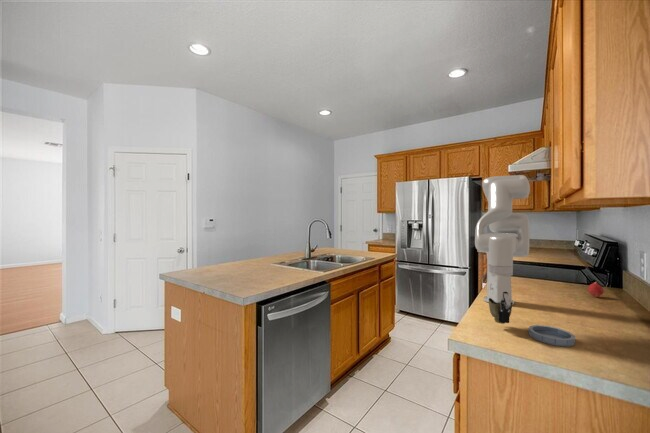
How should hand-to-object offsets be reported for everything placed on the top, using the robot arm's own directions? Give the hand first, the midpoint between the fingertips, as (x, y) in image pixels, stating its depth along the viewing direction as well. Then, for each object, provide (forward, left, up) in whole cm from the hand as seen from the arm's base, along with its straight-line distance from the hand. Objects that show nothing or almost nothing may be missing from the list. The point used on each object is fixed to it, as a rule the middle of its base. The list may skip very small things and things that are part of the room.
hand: (500, 318), depth 103 cm
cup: (0, 0, -2) cm, 2 cm away
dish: (+5, +14, -4) cm, 15 cm away
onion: (-58, +62, -4) cm, 85 cm away
